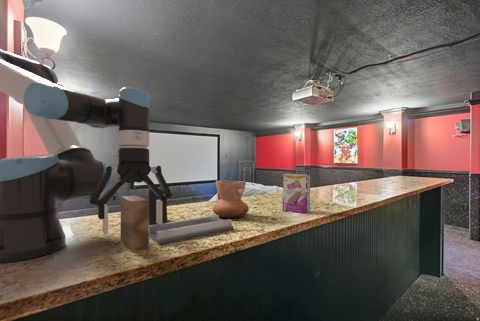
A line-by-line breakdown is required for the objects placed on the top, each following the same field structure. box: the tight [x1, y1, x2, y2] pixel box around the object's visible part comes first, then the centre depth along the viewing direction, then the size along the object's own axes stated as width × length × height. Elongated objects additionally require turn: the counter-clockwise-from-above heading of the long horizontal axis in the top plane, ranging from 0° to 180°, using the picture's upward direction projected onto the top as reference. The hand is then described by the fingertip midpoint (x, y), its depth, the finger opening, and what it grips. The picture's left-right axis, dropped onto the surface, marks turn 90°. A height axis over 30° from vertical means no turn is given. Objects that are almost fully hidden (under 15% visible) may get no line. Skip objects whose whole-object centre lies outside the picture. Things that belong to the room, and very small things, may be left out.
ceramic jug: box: [212, 179, 249, 219], centre depth 100 cm, size 18×14×14 cm
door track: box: [149, 214, 235, 246], centre depth 76 cm, size 24×11×3 cm, turn 128°
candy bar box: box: [282, 173, 311, 214], centre depth 108 cm, size 11×5×16 cm, turn 58°
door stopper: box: [148, 188, 168, 225], centre depth 89 cm, size 9×6×12 cm, turn 22°
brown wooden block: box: [120, 195, 150, 252], centre depth 66 cm, size 4×12×12 cm, turn 38°
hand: (133, 227), depth 66 cm, fingers open, 13 cm apart
